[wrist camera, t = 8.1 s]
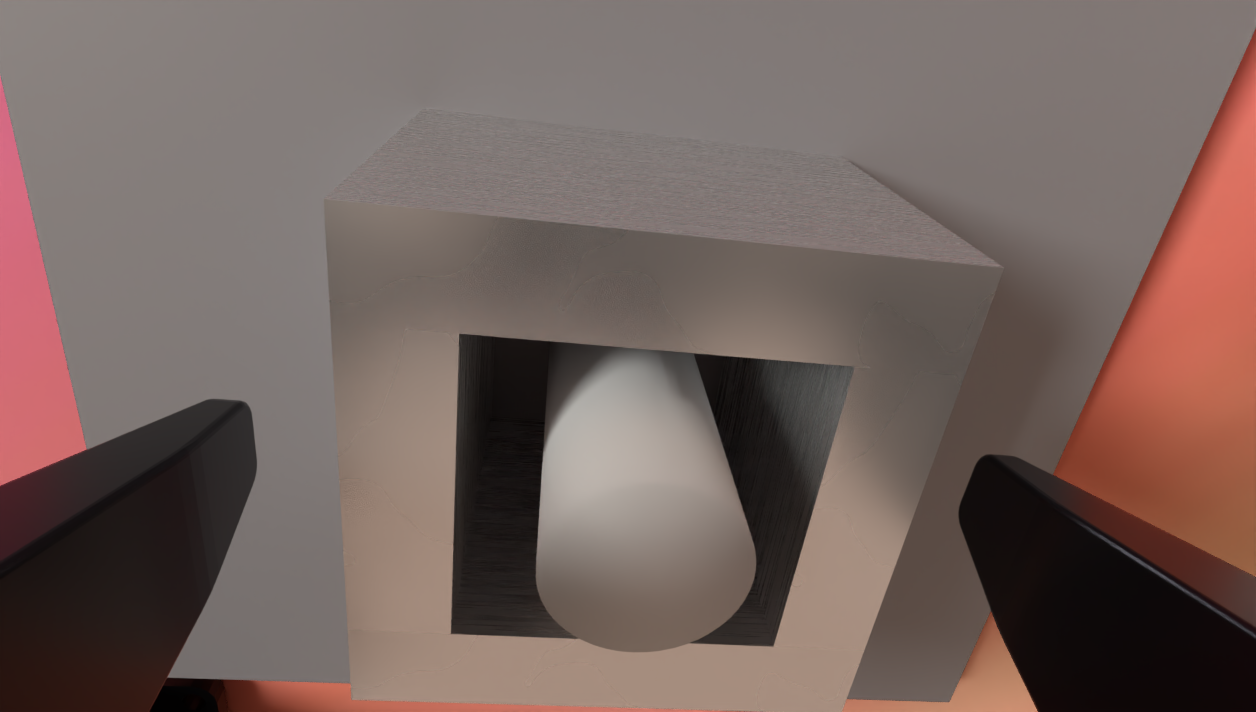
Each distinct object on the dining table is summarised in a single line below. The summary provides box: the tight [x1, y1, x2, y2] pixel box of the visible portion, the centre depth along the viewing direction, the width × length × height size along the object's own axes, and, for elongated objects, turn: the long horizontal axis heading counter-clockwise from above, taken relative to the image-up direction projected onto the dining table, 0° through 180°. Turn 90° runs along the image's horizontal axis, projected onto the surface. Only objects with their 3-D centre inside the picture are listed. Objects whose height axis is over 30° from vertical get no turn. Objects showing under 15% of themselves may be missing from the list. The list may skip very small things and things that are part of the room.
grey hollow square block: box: [324, 108, 1004, 712], centre depth 11 cm, size 6×6×5 cm
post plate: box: [0, 0, 1256, 702], centre depth 11 cm, size 18×18×7 cm
